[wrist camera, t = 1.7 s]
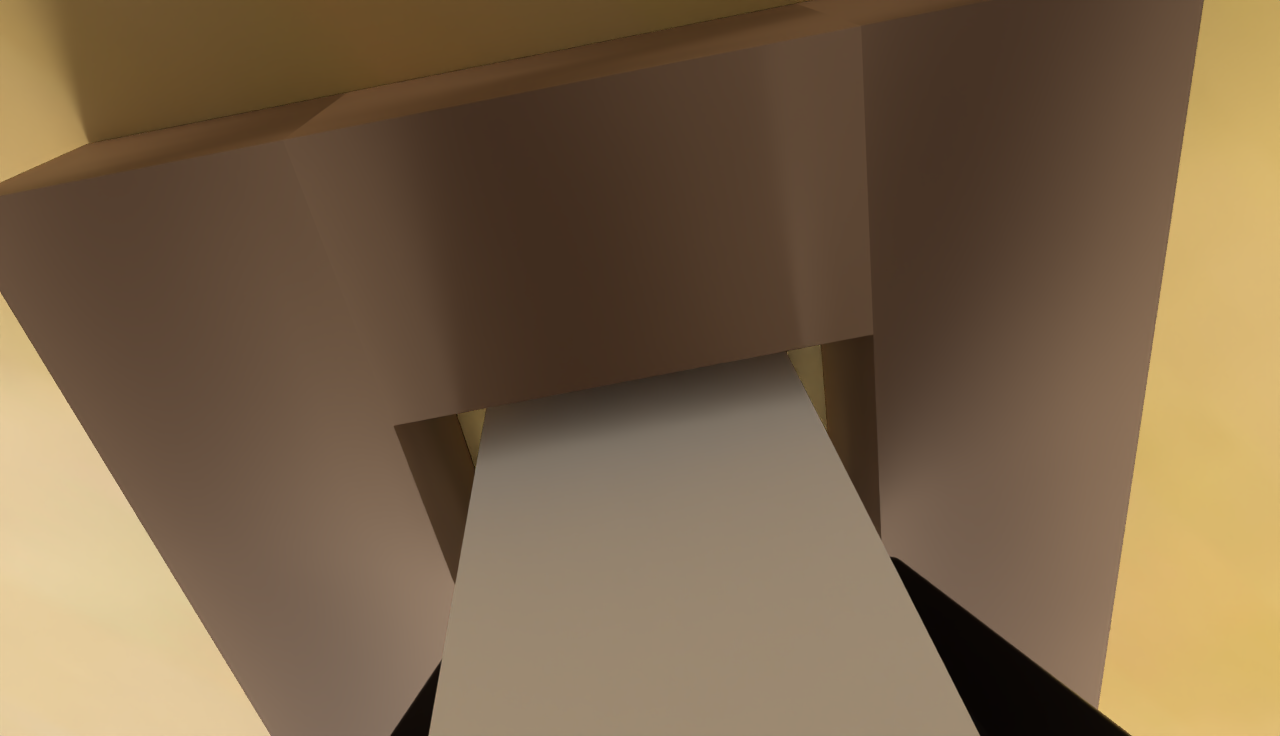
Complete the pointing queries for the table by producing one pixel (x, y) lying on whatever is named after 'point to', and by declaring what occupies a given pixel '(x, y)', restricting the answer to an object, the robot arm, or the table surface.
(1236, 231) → the table surface
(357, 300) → the walnut square frame
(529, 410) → the cream block
